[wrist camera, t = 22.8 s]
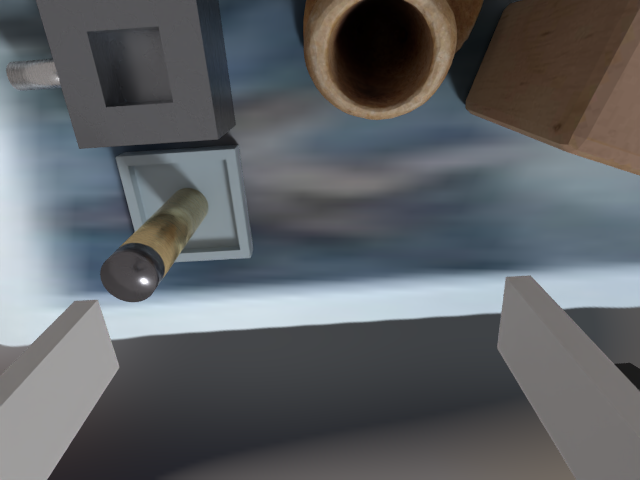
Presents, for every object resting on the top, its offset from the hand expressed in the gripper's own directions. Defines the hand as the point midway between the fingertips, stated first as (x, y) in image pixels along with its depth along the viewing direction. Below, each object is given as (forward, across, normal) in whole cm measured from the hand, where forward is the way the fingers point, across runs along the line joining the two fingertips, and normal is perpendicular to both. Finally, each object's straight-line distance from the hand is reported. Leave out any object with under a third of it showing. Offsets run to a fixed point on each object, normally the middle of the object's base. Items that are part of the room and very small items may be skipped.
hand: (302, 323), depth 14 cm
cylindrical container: (+32, -14, -6) cm, 35 cm away
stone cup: (+33, +7, +9) cm, 35 cm away
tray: (+33, -14, -6) cm, 36 cm away
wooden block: (+33, +21, +5) cm, 39 cm away
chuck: (+33, -17, +8) cm, 38 cm away
